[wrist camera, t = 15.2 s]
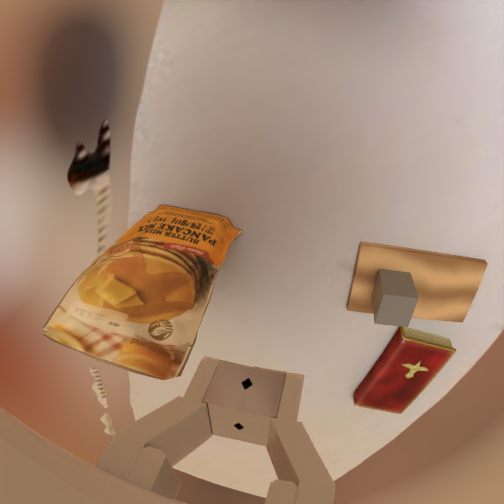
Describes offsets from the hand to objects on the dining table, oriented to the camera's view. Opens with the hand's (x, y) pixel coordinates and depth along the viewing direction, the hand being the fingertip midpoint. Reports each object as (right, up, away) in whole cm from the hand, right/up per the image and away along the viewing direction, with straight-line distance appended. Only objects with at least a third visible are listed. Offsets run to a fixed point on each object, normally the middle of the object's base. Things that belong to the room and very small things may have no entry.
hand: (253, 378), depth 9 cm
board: (+26, -1, +37) cm, 46 cm away
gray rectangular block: (+21, -1, +37) cm, 43 cm away
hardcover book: (+29, -19, +47) cm, 59 cm away
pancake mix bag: (-9, +8, +42) cm, 44 cm away
